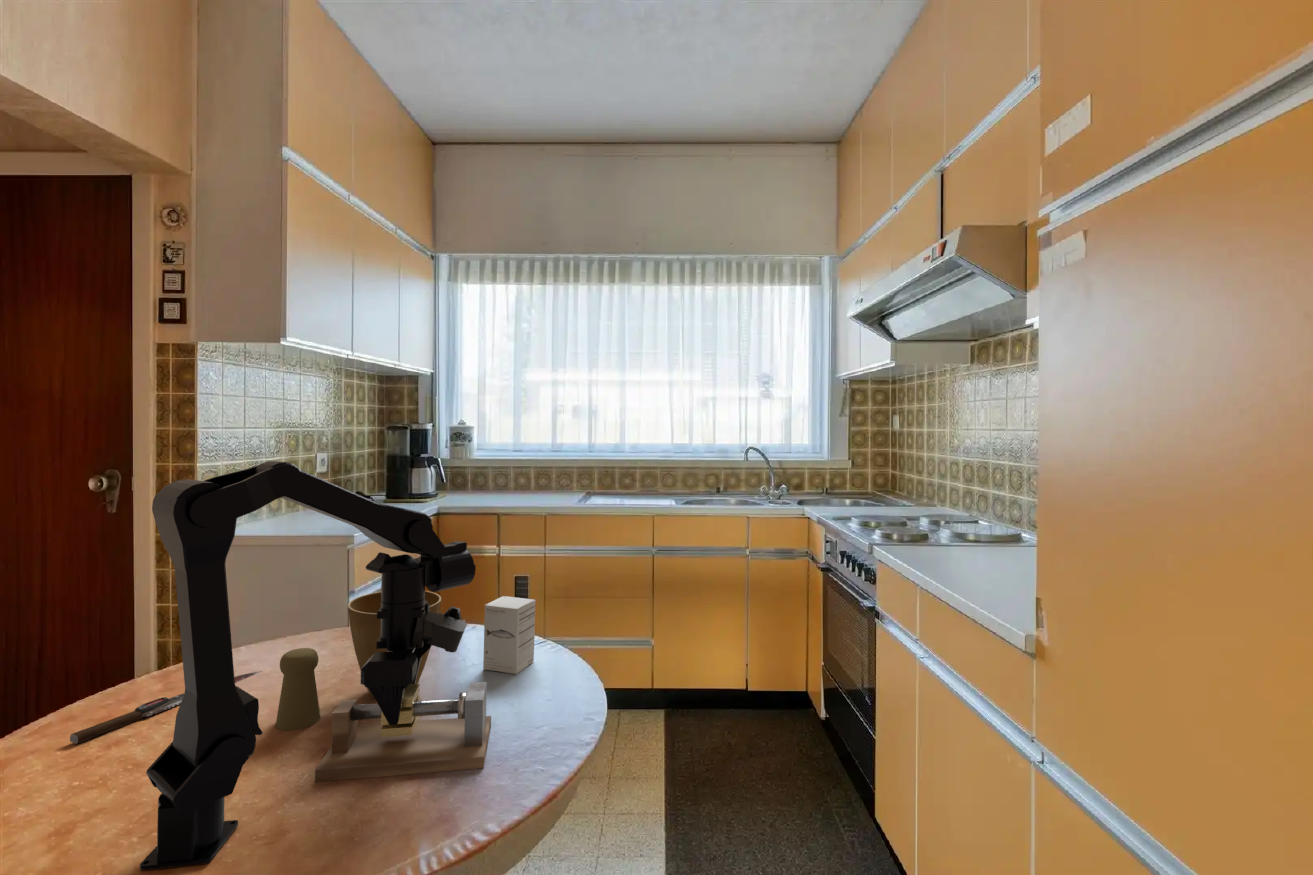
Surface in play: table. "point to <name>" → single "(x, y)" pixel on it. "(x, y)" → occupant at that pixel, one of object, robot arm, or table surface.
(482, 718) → the bolt
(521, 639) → the supplement box
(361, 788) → the table surface
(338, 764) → the jig
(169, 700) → the knife
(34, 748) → the table surface
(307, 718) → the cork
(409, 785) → the table surface
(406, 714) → the nut
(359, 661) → the plant pot
